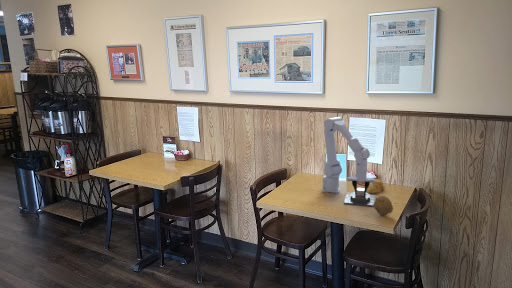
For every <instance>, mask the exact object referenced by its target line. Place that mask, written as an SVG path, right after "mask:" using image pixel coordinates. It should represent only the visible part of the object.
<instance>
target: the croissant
mask: <svg viewBox="0 0 512 288" xmlns="http://www.w3.org/2000/svg"><path fill="white" fill-rule="evenodd" d="M374 179H375V183H370V184H369V186H368V188H367V191H366V193H368V194H370V195H372V194H377V193H381V192H382V190H383V187H384V183H383V181H382V180H381V179H380V178H374Z"/></svg>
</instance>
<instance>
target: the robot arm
mask: <svg viewBox="0 0 512 288" xmlns="http://www.w3.org/2000/svg"><path fill="white" fill-rule="evenodd" d="M323 126H324V130H323V133H324V134H323V135H324V143H325V151H326V161H325V163H324V165H323V166H324V169H323V173H324V175H322V189H321V190H322V192H324V193H337V194H338V193H339V192H340V190H341V188H340V187H339V185H340V184H339V183H340V176H341V174H342V172H343V168H342V166H341V162H340V161H339V160H338V159H337V150H336V142H335V141H336V140H335V133H336V132H340V134H341V135H342V136H343V137H344V139H346V141H347V145H348V147H349V148H350V149H351V150H352V153H353V157H354V159H355V176H347V180H346V181H347V182H351V185H352V187H353V189H354V192H355V194H357V188H358V183H364V188H365V191H364V195H366V191H367V188H368V186H369V184H370V183H375V179H376V178H371V177H367V175H368V159H369V158H370V156H371V153H370V151H369V149H368V148H366V147H364V146H363V145H362V144H361V142H360V141H359V139H358V138H357V137H354V136H353V135H352V134H351V132H350V131H349V129H348V127H347V126H346V121H345V120H344V119H343V118H342V117H341V116H337V117H331V118H330V117H329V118H326V119H325V120H324V122H323Z"/></svg>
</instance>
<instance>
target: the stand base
mask: <svg viewBox="0 0 512 288" xmlns="http://www.w3.org/2000/svg"><path fill="white" fill-rule="evenodd" d="M376 199H377V195H376V194H368V193H366V195H364V197H361V196H359V197H356V194H355V191H353V192H347V193H346V195H345V198H344V202H343V205H350V206H360V207H369V208H374V202H375V200H376Z"/></svg>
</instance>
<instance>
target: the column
mask: <svg viewBox="0 0 512 288" xmlns="http://www.w3.org/2000/svg"><path fill="white" fill-rule="evenodd" d="M364 191H365V187H364V188H363V187H357V194H356V197H359V196H361V197H364Z"/></svg>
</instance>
